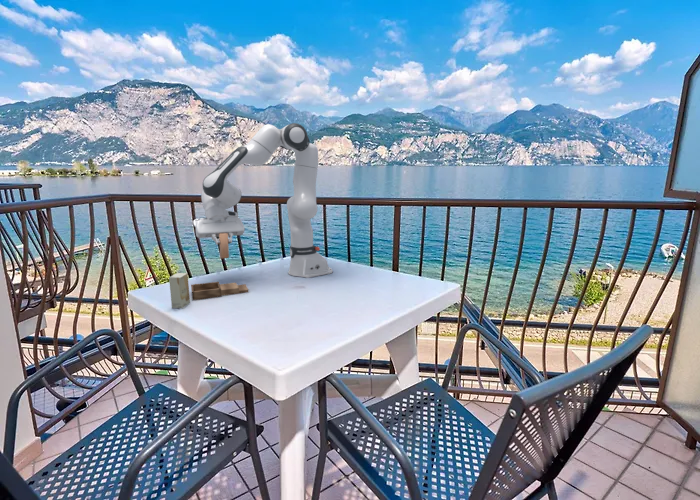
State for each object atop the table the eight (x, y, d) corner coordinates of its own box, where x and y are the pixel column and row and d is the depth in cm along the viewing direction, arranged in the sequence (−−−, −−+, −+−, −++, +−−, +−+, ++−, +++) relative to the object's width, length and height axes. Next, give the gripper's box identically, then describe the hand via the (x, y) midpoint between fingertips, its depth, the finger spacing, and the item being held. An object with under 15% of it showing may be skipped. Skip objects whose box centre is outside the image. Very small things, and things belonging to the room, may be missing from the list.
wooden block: (228, 256, 155) (227, 232, 153) (229, 258, 152) (228, 234, 150) (219, 256, 154) (218, 233, 152) (220, 258, 151) (219, 234, 148)
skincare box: (182, 308, 132) (179, 277, 129) (171, 308, 132) (168, 277, 129) (190, 302, 138) (188, 272, 135) (179, 302, 138) (176, 272, 135)
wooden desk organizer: (245, 286, 158) (244, 278, 157) (249, 293, 149) (248, 285, 148) (191, 292, 149) (191, 284, 148) (192, 300, 140) (191, 292, 139)
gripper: (192, 214, 149) (199, 241, 143) (240, 212, 160) (248, 237, 154) (191, 223, 153) (197, 249, 147) (238, 221, 165) (245, 245, 159)
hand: (224, 243), depth 151 cm, fingers closed on wooden block, 4 cm apart
